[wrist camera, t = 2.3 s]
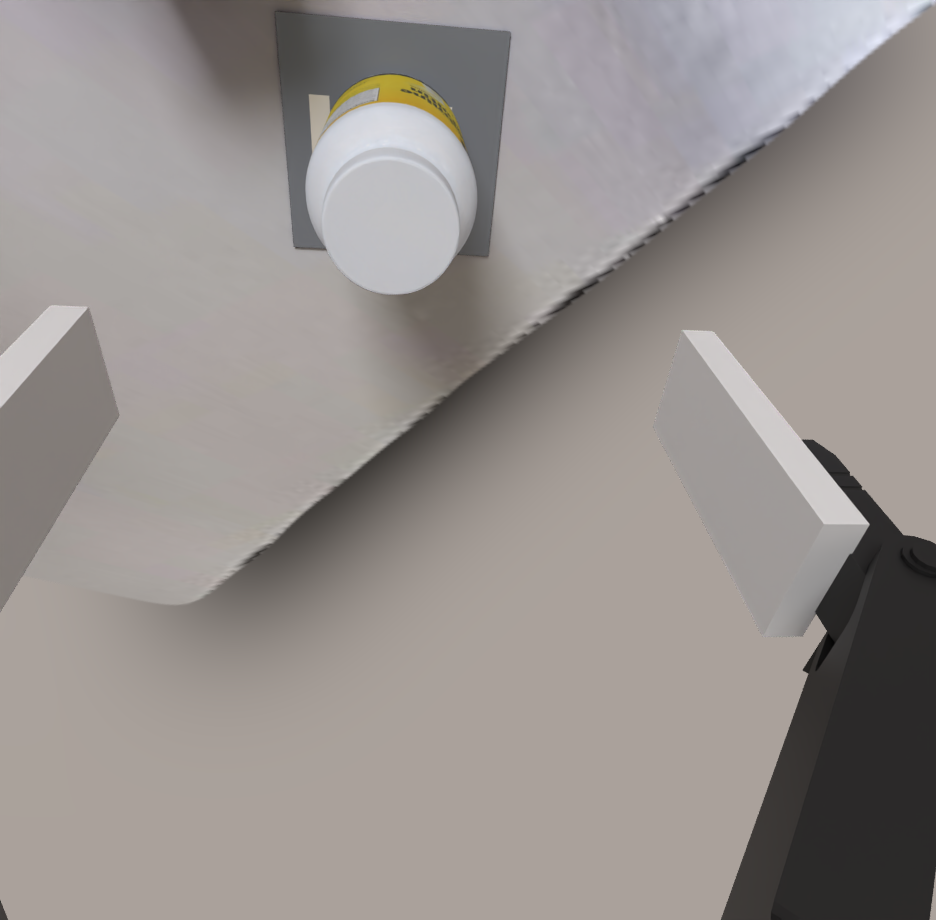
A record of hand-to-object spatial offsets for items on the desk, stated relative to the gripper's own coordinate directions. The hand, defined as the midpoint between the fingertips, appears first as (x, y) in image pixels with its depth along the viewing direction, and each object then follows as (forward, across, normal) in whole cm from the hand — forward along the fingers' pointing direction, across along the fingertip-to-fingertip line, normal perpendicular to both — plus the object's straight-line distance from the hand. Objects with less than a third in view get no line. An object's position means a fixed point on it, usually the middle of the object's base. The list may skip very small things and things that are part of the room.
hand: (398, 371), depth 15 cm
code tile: (+21, 0, 0) cm, 21 cm away
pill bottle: (+21, 0, 0) cm, 21 cm away
